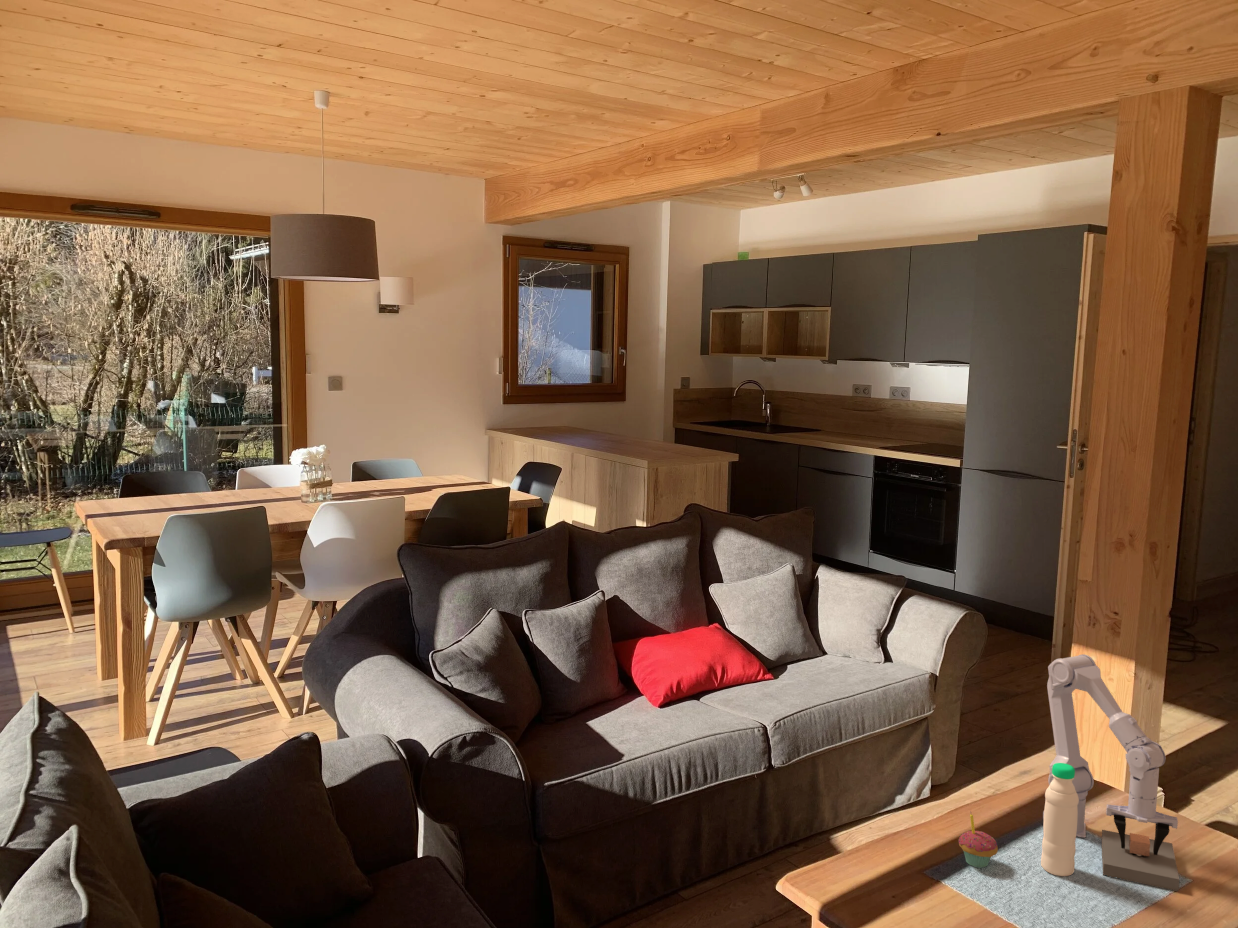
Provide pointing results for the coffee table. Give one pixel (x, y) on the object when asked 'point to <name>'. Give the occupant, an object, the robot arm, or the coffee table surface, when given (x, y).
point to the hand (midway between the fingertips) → (1138, 849)
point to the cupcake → (977, 846)
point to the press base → (1139, 862)
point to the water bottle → (1060, 822)
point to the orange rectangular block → (1139, 844)
